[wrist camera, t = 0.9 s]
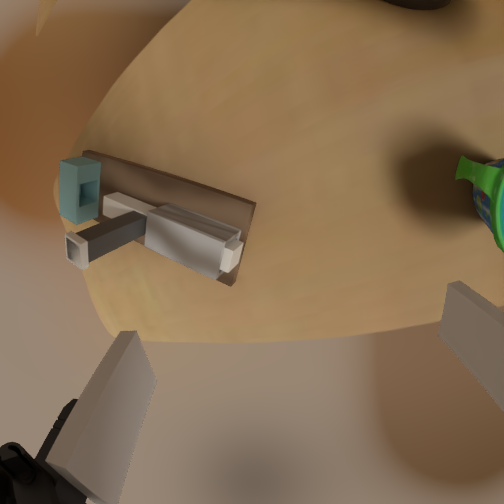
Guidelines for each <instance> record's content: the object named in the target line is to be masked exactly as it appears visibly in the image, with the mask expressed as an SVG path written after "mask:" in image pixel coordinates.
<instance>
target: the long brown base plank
mask: <svg viewBox="0 0 504 504" xmlns="http://www.w3.org/2000/svg"><path fill="white" fill-rule="evenodd" d="M82 157H86V158H89V159H92V160H96V161H99V162H101V171H100V185H99V205H98V217H96V218H93V219H94V220H96V221H98V222H100V223H102V222H104V221H107V220H110V219H111V218H109V217H107V216H105V215H103V198H104V196H105V195H109V194H112V193H116V192H119V193H122V194H124V195H127V196H129V197H132V198H134V199H137V200H139V201H142V202H144V203H147V204H149V205H152V206H154V207H157V208H155V209H152V210H150V211H147V221H146V233H145V235H143V236H141V237H139V238H137V239H135V240H134V241H136V242H138V243H140V244H142V245H144V246H145V247H147V248H149V249H151V250H153V251H155V252H157V253H159V254H161V255H163V256H165V257H167V258H169V259H171V260H173V261H176V262H178V263H180V264H182V265H184V266H186V267H188V268H190V269H192V270H194V271H196V272H199V273H201V274H203V275H205V276H207V277H209V278H211V279H214V280H217V281H220V282H222V283H224V284H226V285H228V286H232V285H233V284H234V283H235V281H236V277H237V273H238V270H239V266H240V262H241V258H242V255H243V251H244V247H245V243H246V239H247V236H248V232H249V228H250V225H251V221H252V217H253V213H254V210H255V206H256V203H255V202H253V201H250V200H247V199H244V198H241V197H238V196H236V195H233V194H230V193H227V192H224V191H221V190H218V189H215V188H212V187H209V186H206V185H203V184H200V183H197V182H194V181H191V180H188V179H185V178H182V177H179V176H176V175H172V174H169V173H166V172H163V171H160V170H156V169H153V168H150V167H146V166H143V165H140V164H136V163H133V162H130V161H126V160H123V159H119V158H116V157H112V156H108V155H105V154H101V153H98V152H94V151H90V150H87V151H83V155H82ZM233 239H236V240H239V241H241V242H244V243H243V247H242V251H241V255H240V259H239V262H238V264H237V265H236V266H235V267H234V268H233V269H232V270H231V271H230V272H229V273H227V272H224V271H222V270H220V265H221V261H222V256H223V252H224V247H225V245H227V244H228V243H229V242H231V241H232V240H233Z"/></svg>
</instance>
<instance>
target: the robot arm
mask: <svg viewBox="0 0 504 504" xmlns="http://www.w3.org/2000/svg"><path fill="white" fill-rule="evenodd" d="M384 1H386V2H389V3H392V4H395V5H398V6H401V7H405V8H410V9H418V10H432V9H438V8H441V7H443V6H445V5H447V4H448V3H449V2H450V1H451V0H384ZM438 336H439V337H440V338H441V339H442V341H443V342H444V343H445V344H446V345H447V346H448V347H449V348H450V349H451V350H452V351H453V353H455V355H456V356H457V357H458V358H459V359H460V360H461V362H463V364H464V365H465V366H466V367H467V368H468V370H470V372H471V373H472V374H473V375H474V377H475V378H476V379H477V380H478V381H479V382H480V384H481V385H482V386H483V387H484V388H485V390H486V391H487V392H488V393H489V394H490V396H491V397H492V398H493V400H494V401H495V402H496V403H497V405H498V406H499V407H500V408H501V410H502V411H503V412H504V312H503V311H501V310H500V309H499V308H497V307H496V306H495V305H493V304H492V303H491V302H489V301H488V300H487V299H485V298H484V297H482V296H481V295H480V294H478V293H477V292H475V291H474V290H473V289H471V288H470V287H468V286H467V285H465V284H464V283H462V282H461V281H456V282H452V283H449V284H448V287H447V293H446V299H445V304H444V310H443V315H442V319H441V324H440V328H439V333H438ZM156 383H157V379H156V377H155V375H154V372H153V370H152V368H151V365H150V363H149V361H148V358H147V356H146V353H145V351H144V348H143V346H142V343H141V341H140V338H139V335H138V333H137V331H121V332H120V333H119V335H118V336H117V338H116V339H115V341H114V342H113V344H112V345H111V347H110V348H109V350H108V352H107V353H106V355H105V356H104V358H103V359H102V361H101V363H100V364H99V366H98V367H97V369H96V371H95V372H94V374H93V375H92V377H91V379H90V380H89V382H88V384H87V385H86V387H85V389H84V390H83V392H82V394H81V396H80V397H79V399H73V400H71V401H70V402H69V403H68V404H67V405H66V406H65V407H64V408H63V410H62V411H61V413H60V415H59V416H58V420H56V421H55V423H54V425H53V428H52V429H51V430H50V432H49V434H48V436H47V438H46V439H45V441H44V443H43V445H42V447H41V449H40V450H39V452H38V454H37V456H36V458H35V459H33V458H32V457H31V456H30V455H29V454H28V453H27V452H26V451H25V449H24V448H23V447H22V446H21V445H20V444H18V443H15V442H9V443H6V444H4V445H2V446H1V447H0V504H86V503H85V502H86V499H87V497H88V498H89V499H90V500H92V501H93V502H94V503H96V504H118V503H119V499H120V496H121V492H122V488H123V485H124V482H125V478H126V475H127V472H128V468H129V465H130V462H131V458H132V455H133V452H134V449H135V446H136V443H137V439H138V436H139V433H140V430H141V427H142V424H143V421H144V418H145V415H146V412H147V409H148V406H149V404H150V401H151V398H152V395H153V392H154V389H155V386H156Z"/></svg>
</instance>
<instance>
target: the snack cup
mask: <svg viewBox="0 0 504 504" xmlns="http://www.w3.org/2000/svg"><path fill="white" fill-rule="evenodd" d="M462 178H464V179H467V180H469V181H471V182H472V183H473V201H474V204H475V207H476V210H477V212H478V214H479V215H480V217H481V218H482V219H483V221H484V222H485V223H486V225H487V226H488V227H489V229H490V230H491V232H492V233H493V234H494V239H495V242H496V244H497V246H498V247H499V248H500V249H501V250H502V251H503V252H504V158H503V159H498V160H493V161H491V162H488V163H486V164H481V163H477V162H474V161H471V160H468V159H467V158H466V157H465V156H461V158H460V160H459V163H458V167H457V170H456V174H455V180H458V179H462Z"/></svg>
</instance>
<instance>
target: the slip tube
mask: <svg viewBox="0 0 504 504" xmlns="http://www.w3.org/2000/svg"><path fill="white" fill-rule="evenodd" d="M155 208H157V207H154V206H152V205H149V204H147V203H144V202H142V201H139V200H137V199H134V198H132V197H129V196H127V195H124V194H122V193H119V192H116V193H112V194H109V195H105V196H104V198H103V215H105V216H107V217H109V218H111V219H110V220H107V221H104V222H102V223H99V224H97V225H94V226H92V227H89V228H87V229H85V230H82V231H80V232H77V233H74V232H72V231H70V232H68V233H66V234H65V245H66V257H67V260H69V261H70V262H71V263H73V264H74V265H75V266H77V267H78V268H80V269H81V270H84V269H86V268H88V267H89V262H91V261H93V260H95V259H97V258H99V257H101V256H103V255H105V254H107V253H109V252H111V251H113V250H114V249H116V248H118V247H120V246H122V245H125V244H127V243H129V242H131V241H133V240H135V239H137V238H139V237H141V236H143V235H145V233H146V221H147V211H150V210H152V209H155ZM243 243H244V242H241V241H239V240H236V239H233V240H232V241H231V242H229V243H228V244H227V245H225V247H224V252H223V256H222V261H221V265H220V270H222V271H224V272H227V273H229V272H230V271H231V270H232V269H233V268H234V267H235V266H236V265H237V264H238V262H239V259H240V255H241V251H242V247H243Z"/></svg>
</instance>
